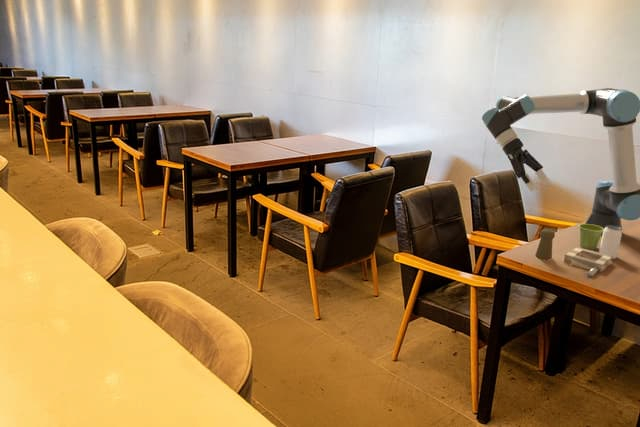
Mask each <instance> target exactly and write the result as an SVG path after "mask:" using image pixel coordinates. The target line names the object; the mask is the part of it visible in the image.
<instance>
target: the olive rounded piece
mask: <svg viewBox="0 0 640 427" xmlns="http://www.w3.org/2000/svg"><path fill="white" fill-rule="evenodd" d="M539 235H540V240H539V243H538V247H537V248H536V251H535V255H534V256H535V257H536V258H537V259H539V258H540V260H544V259H545V261H549V259H550V260H552V259H553V239H555V236H556V234H555V231H554V230H552V229H548V228H544V229H543V228H542V229H541V230H540V232H539Z"/></svg>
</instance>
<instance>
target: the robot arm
mask: <svg viewBox="0 0 640 427" xmlns="http://www.w3.org/2000/svg"><path fill="white" fill-rule="evenodd" d="M557 113H558V114H560V113H579V114H581V115H594V116H598V117H602V126H603V127H604V128H605V129H606V130H607V134H608V144H609V155H610V165H611V176H612V180H599V181H597V185H596V187H595V193H594V200H593V203H592V208H591V212H590V214H589V216H588V217H587V219H586V221H585V223H584V224H592V225H597V226H600V227H603V228H604V229H605V227H606V226H607V225H612V226H617V227H620V228H621V229H622V230H621V231H622V232H623V226H622V219H623V220H625V221H635V220H638V219H640V183H639V182H638V181H637V170H636V159H635V158H636V156H635V146H634V131H633V126H634V125H635V124H636V123H637V117H638V114H640V98H639V96H638V95H636V94H635V92H633V91H629V90H627V89H617V88H609V87H607V88H599V89H591V90H582V91H580V92H579V93H565V94H563V93H562V94H546V95H544V94H542V95H528V94H524V95H523V94H522V95H520V96H505V95H504V96H501V97H500V98H498V100H497V101H496V104H495V106H493V107H492V108H490V109H488V110H486V111H485V112H484V113H483V115H481V116H482V117H481V120H482V121H483V123H484V125H485V128H487V130H488V132H490V133H491V135H492V136H493V138H494V139H495V141H496V144H497V145H499V146H500V147H501V148H502V151H503V152H504V154H505V155H506V156H507V158H508V160H509V162H510V164H511V166H512V169H513V172H514V174H515V176H516V177H517V179H520V178H521V180H522V182H523V183H524V184H525V185H526V187H527V188H528V190H529V191H530V192H533V191H534V190H536V189H537V188H538V186H537V185H536V183H535V182H534V181H533V179H532V178H531V176H530V174H528V173H527V172H526V169H525V165H526V166H527V167H528V168H530V169H531V170H533V171H534V172H535V175H536V176H537V178H538V179H539V181H540V182H541V183H542V185H543V187H546V186H548V185H549V184H551V183H552V182H551V181H550V179H549V177H548V176H547V175H546V173H545V172H544V170H543V168H544V166H543V165H542V164H541V163H540V162H539V161H538V160H537V158H535V157H534V156H533V155H532V154H531V153H530V152H529V151H528V150H527V149H526V148H525V149H523V147H524V143H523V142H522V141H521V139H520V138H519V136H518V134H517V133H516V131H515V130H514V129H513V127H512V126H511V125H514V124H515V123H517V122H519V121H520V120H521V119H524V118H525V117H526V116H529V115H535V114H538V115H540V114H557ZM602 235H603V233H602V234H601V236H602Z"/></svg>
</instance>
